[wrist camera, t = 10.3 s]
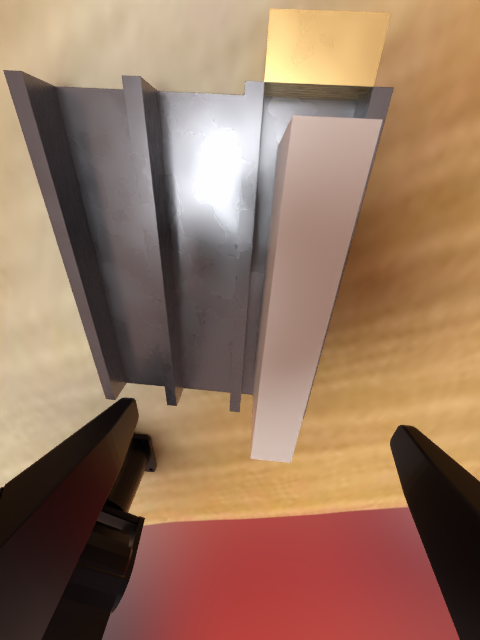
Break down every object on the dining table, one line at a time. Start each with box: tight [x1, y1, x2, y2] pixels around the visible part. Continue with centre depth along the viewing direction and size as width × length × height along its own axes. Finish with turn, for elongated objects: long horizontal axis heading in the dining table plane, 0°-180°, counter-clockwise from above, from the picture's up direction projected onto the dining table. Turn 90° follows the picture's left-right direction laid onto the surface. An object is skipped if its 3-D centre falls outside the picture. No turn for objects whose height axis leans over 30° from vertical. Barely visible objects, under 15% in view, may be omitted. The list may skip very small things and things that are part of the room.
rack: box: [3, 9, 394, 418], centre depth 16 cm, size 22×16×3 cm
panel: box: [251, 115, 383, 463], centre depth 14 cm, size 16×2×7 cm, turn 177°
